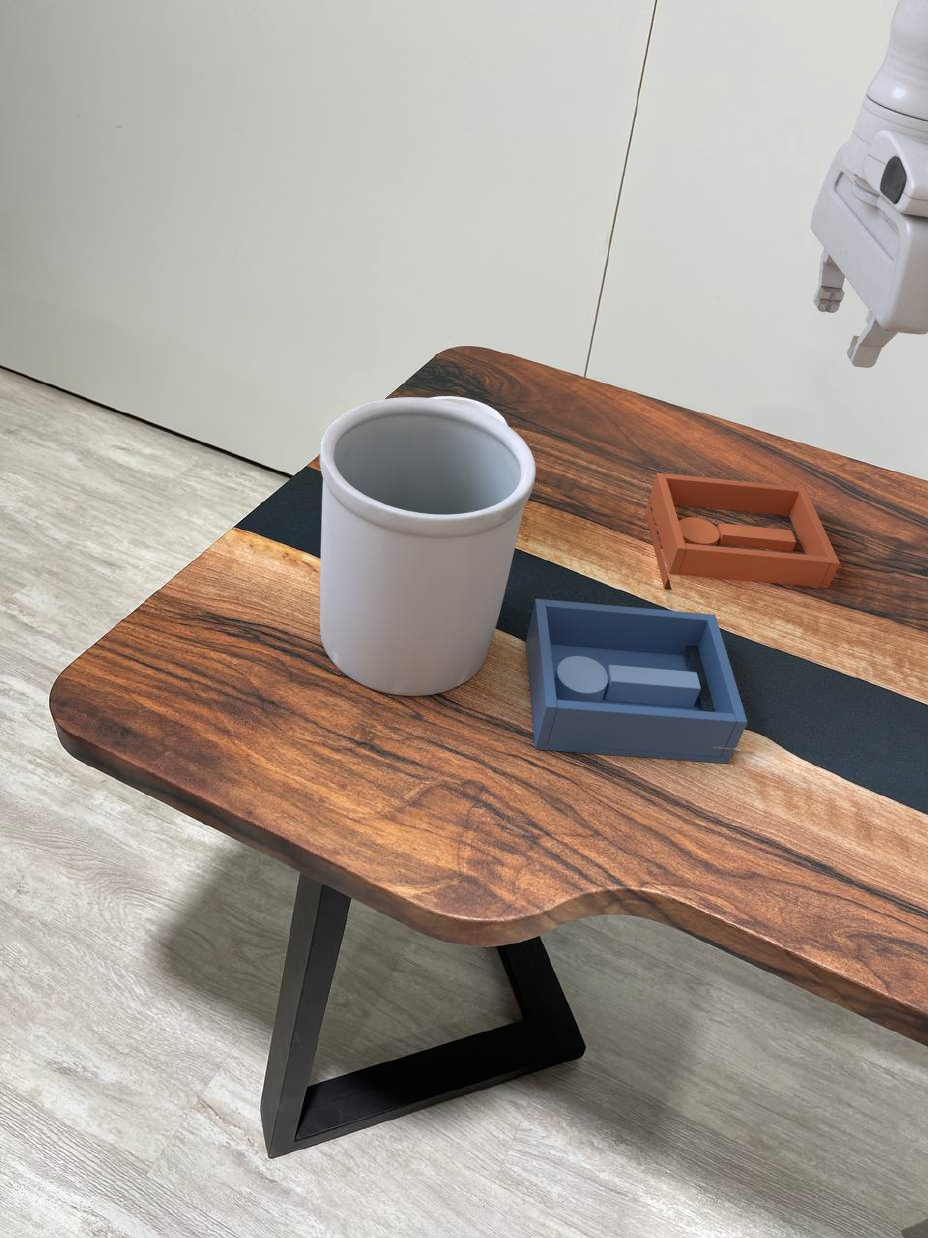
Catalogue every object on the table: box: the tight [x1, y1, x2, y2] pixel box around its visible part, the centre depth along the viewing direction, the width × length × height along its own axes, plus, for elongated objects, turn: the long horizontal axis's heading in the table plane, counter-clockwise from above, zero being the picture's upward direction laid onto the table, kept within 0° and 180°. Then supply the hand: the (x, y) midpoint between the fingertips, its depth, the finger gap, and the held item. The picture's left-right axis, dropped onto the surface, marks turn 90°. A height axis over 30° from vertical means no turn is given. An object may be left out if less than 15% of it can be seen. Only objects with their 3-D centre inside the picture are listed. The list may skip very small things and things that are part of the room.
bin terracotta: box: [644, 472, 841, 590], centre depth 94 cm, size 15×12×5 cm
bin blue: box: [525, 598, 748, 765], centre depth 77 cm, size 15×12×5 cm
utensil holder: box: [319, 396, 537, 697], centre depth 75 cm, size 15×15×18 cm
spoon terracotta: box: [678, 516, 797, 552], centre depth 94 cm, size 11×4×2 cm, turn 90°
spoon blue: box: [554, 656, 702, 708], centre depth 78 cm, size 11×4×2 cm, turn 91°
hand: (840, 334), depth 80 cm, fingers open, 8 cm apart
